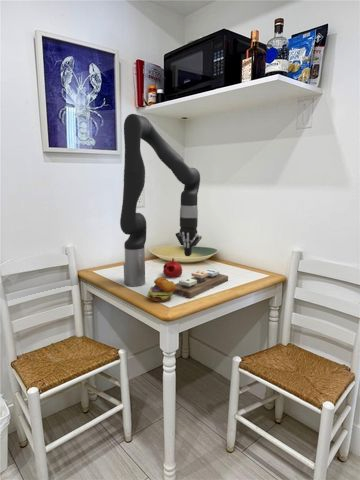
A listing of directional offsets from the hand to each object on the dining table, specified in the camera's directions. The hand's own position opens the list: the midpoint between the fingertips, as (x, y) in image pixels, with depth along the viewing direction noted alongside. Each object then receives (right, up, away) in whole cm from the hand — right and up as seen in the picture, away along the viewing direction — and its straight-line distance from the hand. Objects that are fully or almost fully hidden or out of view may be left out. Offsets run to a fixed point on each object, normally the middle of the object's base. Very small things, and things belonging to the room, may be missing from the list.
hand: (187, 255), depth 144 cm
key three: (+11, -12, +17) cm, 23 cm away
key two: (+6, -12, +9) cm, 16 cm away
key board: (+6, -14, +10) cm, 18 cm away
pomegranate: (-7, -12, +25) cm, 29 cm away
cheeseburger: (-11, -18, -5) cm, 21 cm away
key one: (0, -15, +3) cm, 15 cm away
